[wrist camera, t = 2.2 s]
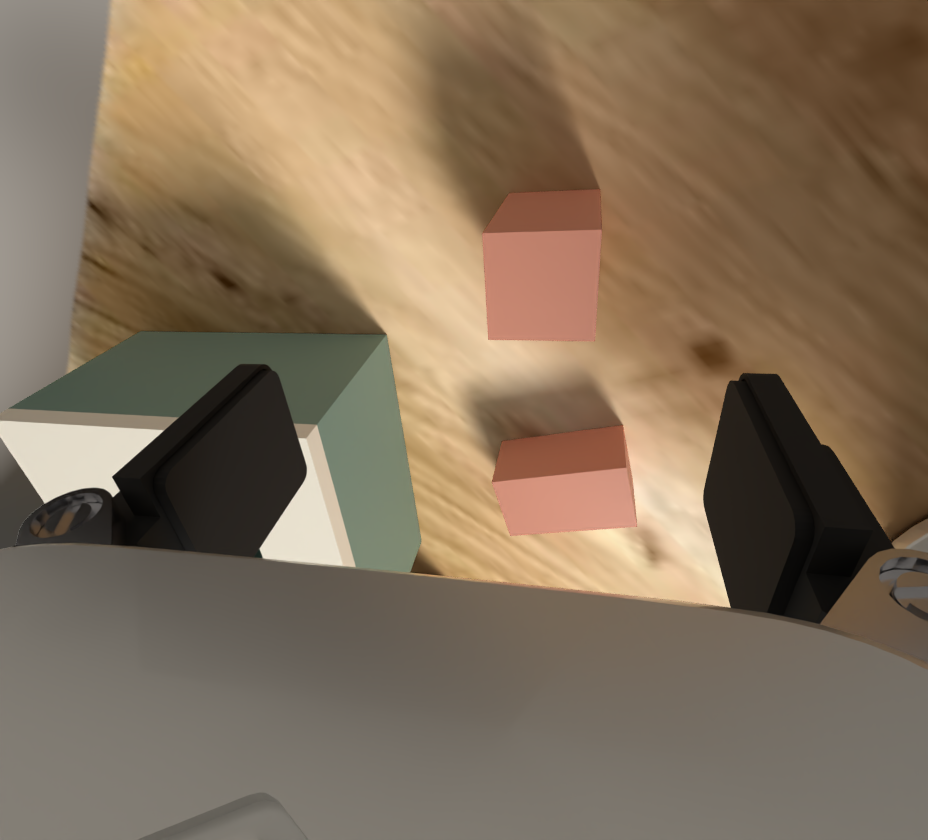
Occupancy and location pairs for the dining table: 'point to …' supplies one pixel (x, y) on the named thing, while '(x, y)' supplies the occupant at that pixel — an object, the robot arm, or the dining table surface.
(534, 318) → the salmon pink block
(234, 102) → the dining table surface
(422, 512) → the dining table surface
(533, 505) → the block
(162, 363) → the green and cream box
